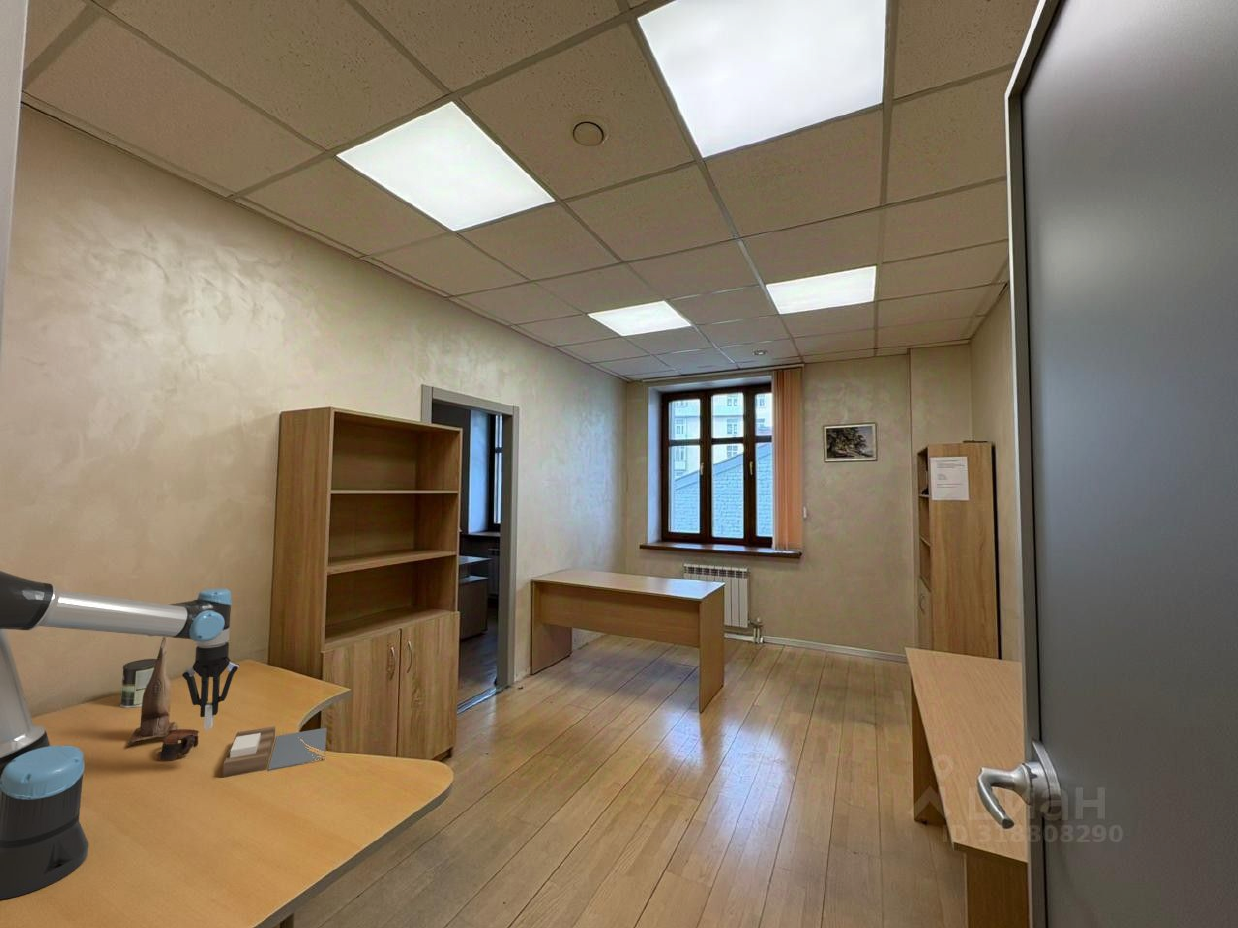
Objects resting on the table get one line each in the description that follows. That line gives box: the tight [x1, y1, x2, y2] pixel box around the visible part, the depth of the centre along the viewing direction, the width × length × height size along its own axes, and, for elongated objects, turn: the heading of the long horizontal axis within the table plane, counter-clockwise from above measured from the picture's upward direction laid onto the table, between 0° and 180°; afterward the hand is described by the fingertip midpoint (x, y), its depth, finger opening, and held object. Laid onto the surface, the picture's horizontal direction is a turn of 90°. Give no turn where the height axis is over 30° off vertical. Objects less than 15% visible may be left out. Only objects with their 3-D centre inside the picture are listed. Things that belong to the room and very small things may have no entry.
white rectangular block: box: [230, 733, 261, 758], centre depth 151 cm, size 9×6×2 cm, turn 28°
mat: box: [267, 727, 328, 772], centre depth 160 cm, size 22×14×1 cm, turn 28°
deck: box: [222, 725, 276, 778], centre depth 154 cm, size 20×10×4 cm, turn 28°
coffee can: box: [119, 658, 157, 709], centre depth 189 cm, size 10×10×14 cm
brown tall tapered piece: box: [125, 637, 179, 750], centre depth 164 cm, size 11×12×32 cm
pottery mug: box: [156, 728, 200, 761], centre depth 155 cm, size 12×10×8 cm
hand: (208, 726), depth 147 cm, fingers closed
